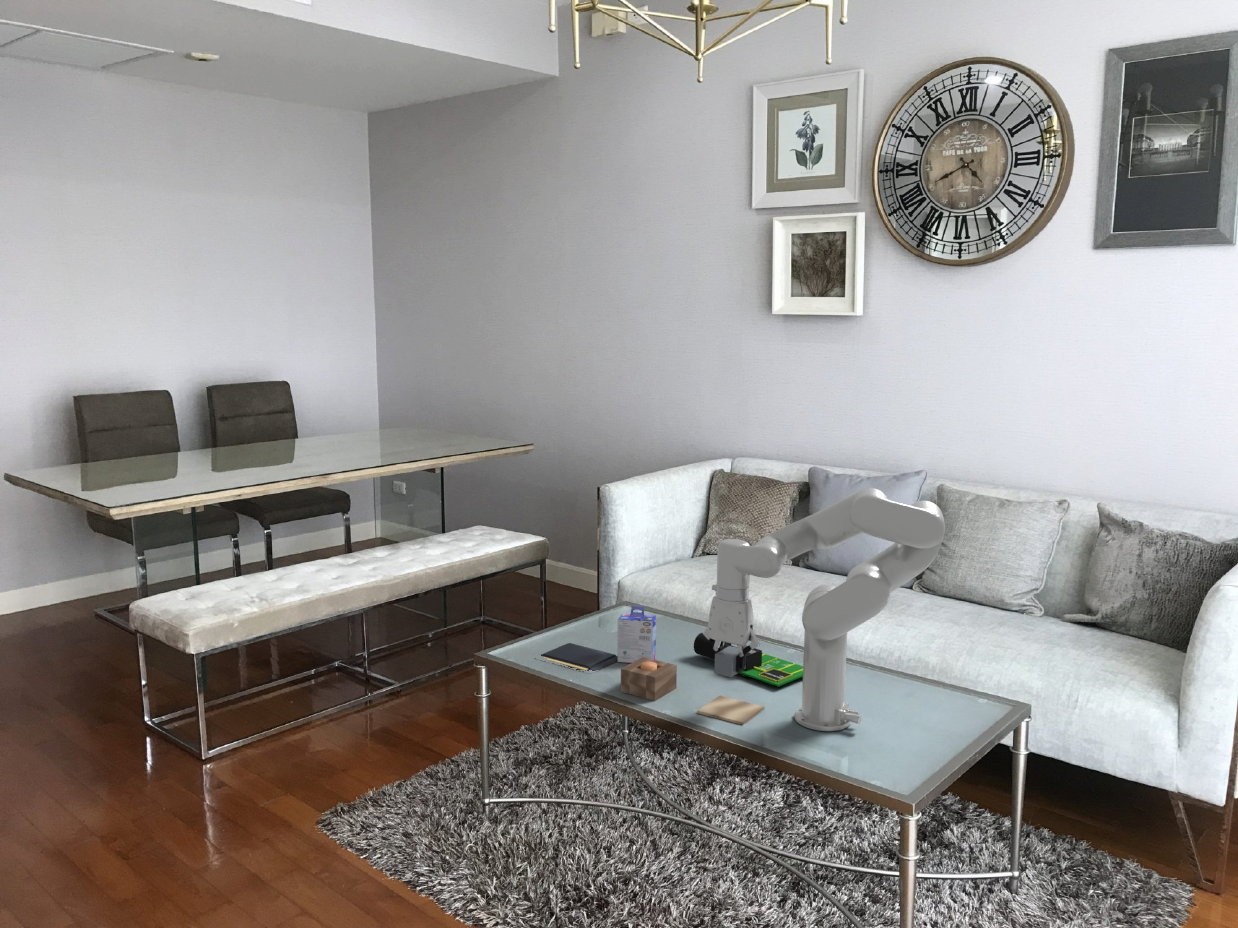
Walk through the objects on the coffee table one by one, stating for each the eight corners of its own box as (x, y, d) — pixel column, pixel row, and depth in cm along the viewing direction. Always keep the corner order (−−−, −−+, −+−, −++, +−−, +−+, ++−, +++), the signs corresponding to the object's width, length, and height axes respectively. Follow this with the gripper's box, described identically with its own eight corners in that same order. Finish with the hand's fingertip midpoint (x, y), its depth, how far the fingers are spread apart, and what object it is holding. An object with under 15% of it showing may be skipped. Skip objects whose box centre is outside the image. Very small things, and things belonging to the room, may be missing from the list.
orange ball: (659, 679, 244) (660, 663, 243) (651, 683, 241) (651, 668, 240) (646, 675, 246) (646, 660, 245) (637, 680, 243) (637, 665, 242)
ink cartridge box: (656, 658, 266) (657, 606, 264) (653, 665, 261) (653, 612, 259) (621, 655, 268) (621, 604, 266) (617, 662, 263) (617, 610, 261)
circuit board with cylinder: (815, 650, 252) (778, 664, 242) (814, 676, 253) (778, 691, 243) (727, 623, 274) (690, 635, 264) (727, 647, 275) (690, 660, 265)
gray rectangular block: (731, 676, 225) (732, 658, 225) (714, 672, 228) (715, 654, 227) (745, 668, 231) (746, 649, 230) (728, 663, 233) (729, 645, 233)
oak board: (764, 708, 232) (764, 706, 232) (742, 724, 223) (743, 722, 223) (719, 697, 239) (719, 695, 239) (697, 712, 230) (697, 710, 230)
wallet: (624, 654, 266) (588, 670, 254) (624, 661, 266) (588, 677, 254) (569, 639, 278) (532, 653, 266) (569, 645, 278) (532, 660, 266)
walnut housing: (676, 687, 245) (676, 664, 244) (655, 700, 237) (655, 677, 236) (642, 679, 251) (643, 657, 250) (620, 691, 242) (620, 668, 242)
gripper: (692, 590, 228) (690, 665, 231) (758, 603, 219) (755, 681, 222) (708, 583, 234) (706, 656, 237) (773, 595, 225) (770, 671, 228)
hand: (730, 667), depth 229 cm, fingers closed on gray rectangular block, 4 cm apart
